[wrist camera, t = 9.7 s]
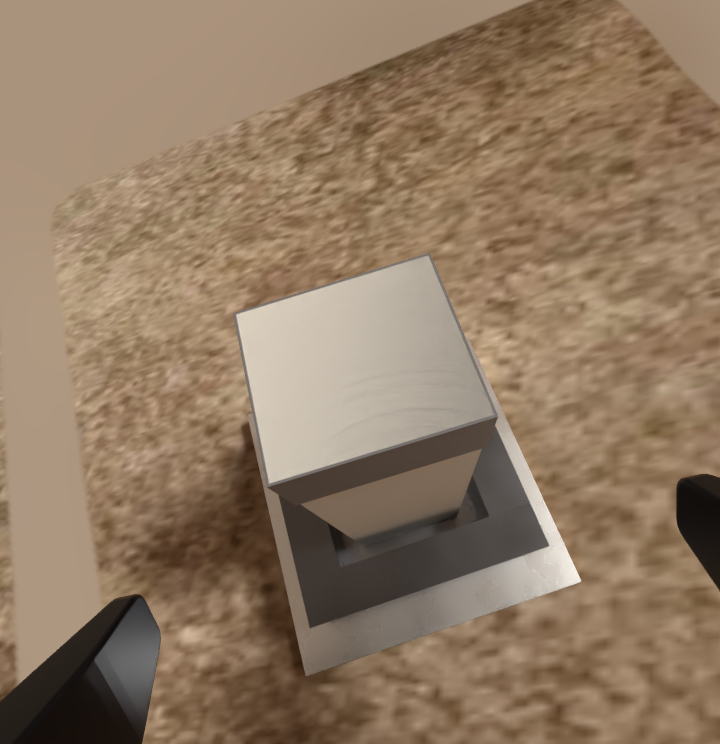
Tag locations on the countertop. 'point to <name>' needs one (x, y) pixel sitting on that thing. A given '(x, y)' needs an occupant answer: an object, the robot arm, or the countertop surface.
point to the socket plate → (419, 561)
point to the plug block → (367, 400)
